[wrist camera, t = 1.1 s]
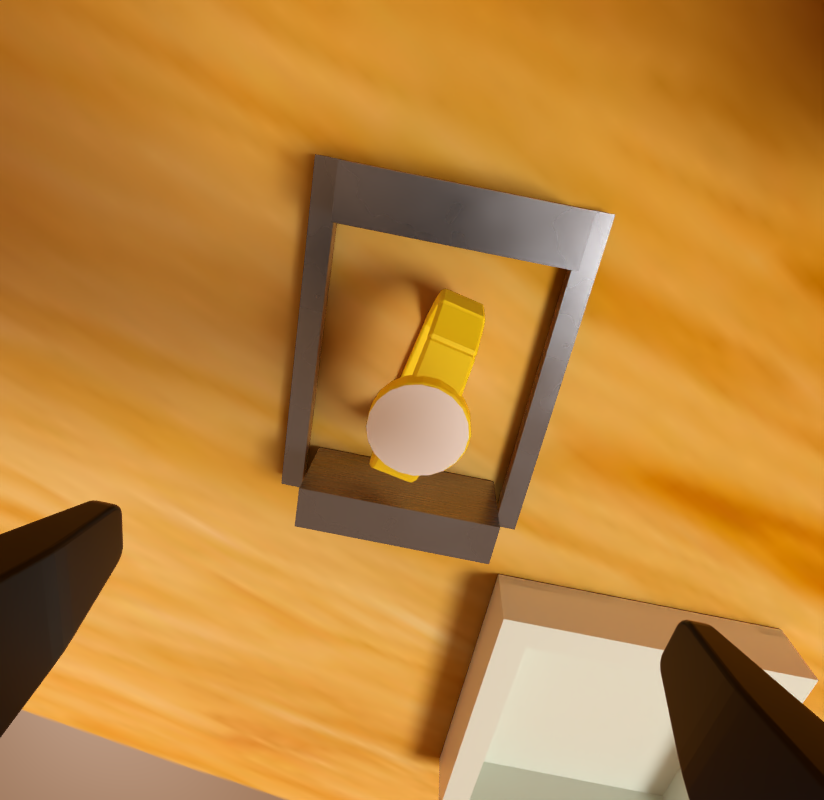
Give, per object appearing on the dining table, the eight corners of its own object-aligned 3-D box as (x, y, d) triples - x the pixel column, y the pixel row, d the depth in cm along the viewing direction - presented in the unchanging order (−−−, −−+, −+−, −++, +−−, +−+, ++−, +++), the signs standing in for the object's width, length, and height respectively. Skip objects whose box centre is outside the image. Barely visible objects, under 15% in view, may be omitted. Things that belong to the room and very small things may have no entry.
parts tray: (781, 629, 23) (818, 680, 20) (673, 804, 28) (693, 861, 25) (498, 574, 23) (503, 618, 20) (439, 759, 27) (438, 812, 25)
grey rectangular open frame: (609, 213, 17) (640, 220, 14) (513, 520, 22) (522, 570, 19) (319, 155, 17) (293, 150, 14) (285, 475, 21) (261, 519, 19)
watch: (432, 434, 21) (420, 536, 15) (367, 407, 20) (331, 502, 15) (502, 295, 18) (515, 362, 13) (427, 262, 18) (409, 316, 12)
